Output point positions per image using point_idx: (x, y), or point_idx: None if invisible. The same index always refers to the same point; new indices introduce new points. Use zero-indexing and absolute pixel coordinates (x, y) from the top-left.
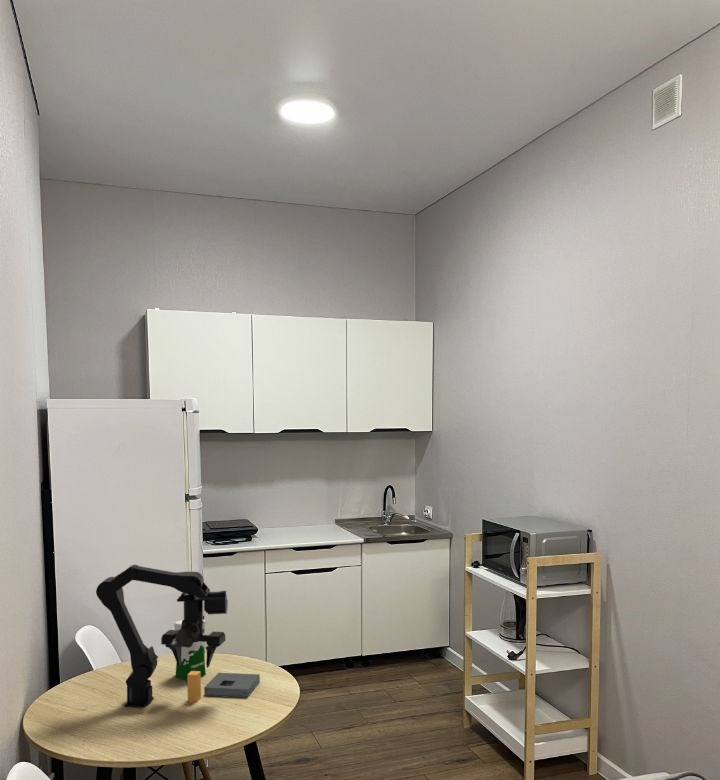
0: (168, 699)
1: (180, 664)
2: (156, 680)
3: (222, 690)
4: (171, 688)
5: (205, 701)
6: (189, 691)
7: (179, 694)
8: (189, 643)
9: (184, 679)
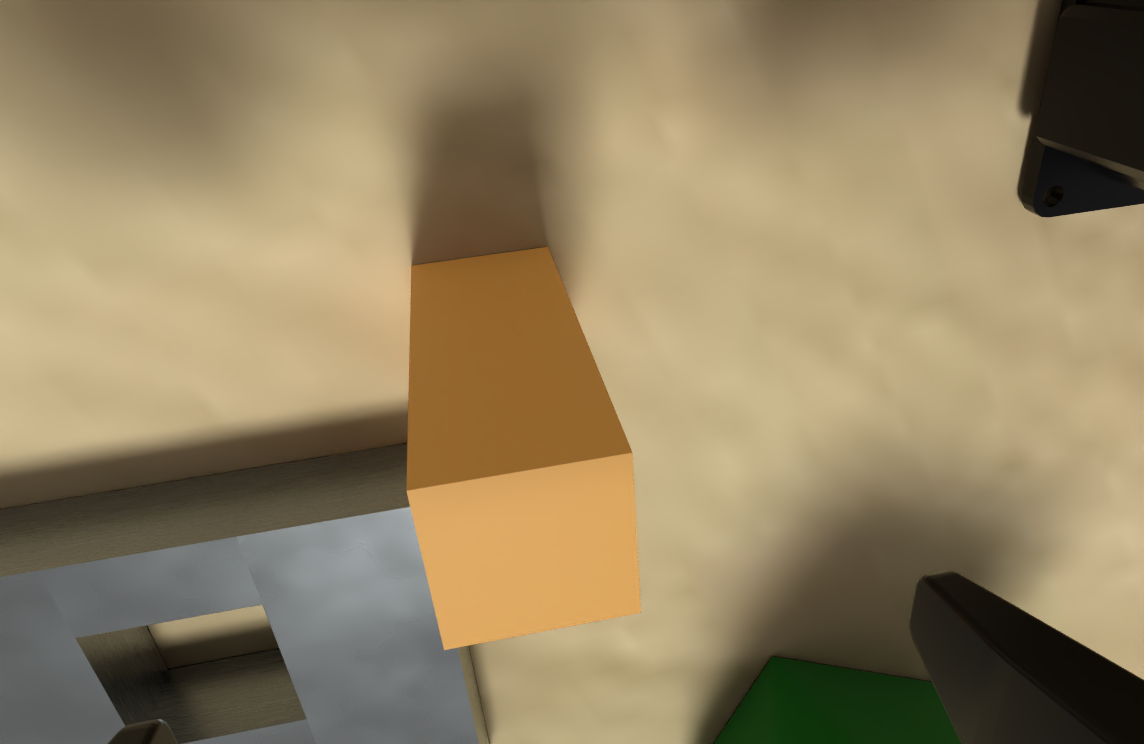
0: (826, 238)
1: (919, 636)
2: (1093, 582)
3: (153, 532)
4: (894, 488)
5: (303, 306)
6: (539, 307)
7: (746, 391)
8: None
9: (834, 667)
